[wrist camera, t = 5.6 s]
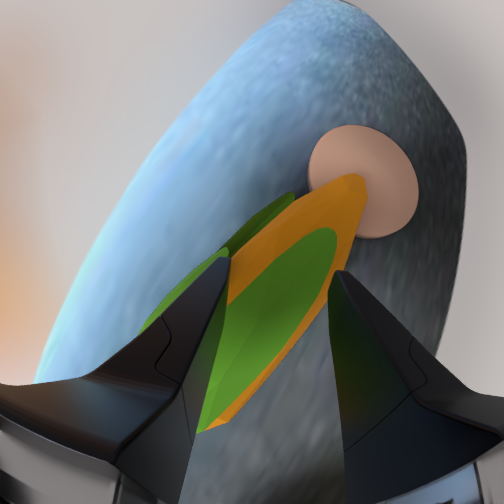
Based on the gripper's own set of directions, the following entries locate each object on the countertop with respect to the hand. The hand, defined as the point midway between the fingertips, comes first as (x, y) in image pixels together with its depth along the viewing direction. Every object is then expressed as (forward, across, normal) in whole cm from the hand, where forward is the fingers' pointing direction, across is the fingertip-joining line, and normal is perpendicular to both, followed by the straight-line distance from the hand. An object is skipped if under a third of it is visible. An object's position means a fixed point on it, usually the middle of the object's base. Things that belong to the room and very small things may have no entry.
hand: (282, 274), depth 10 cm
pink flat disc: (+14, -7, +1) cm, 15 cm away
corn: (+7, 0, +8) cm, 11 cm away
